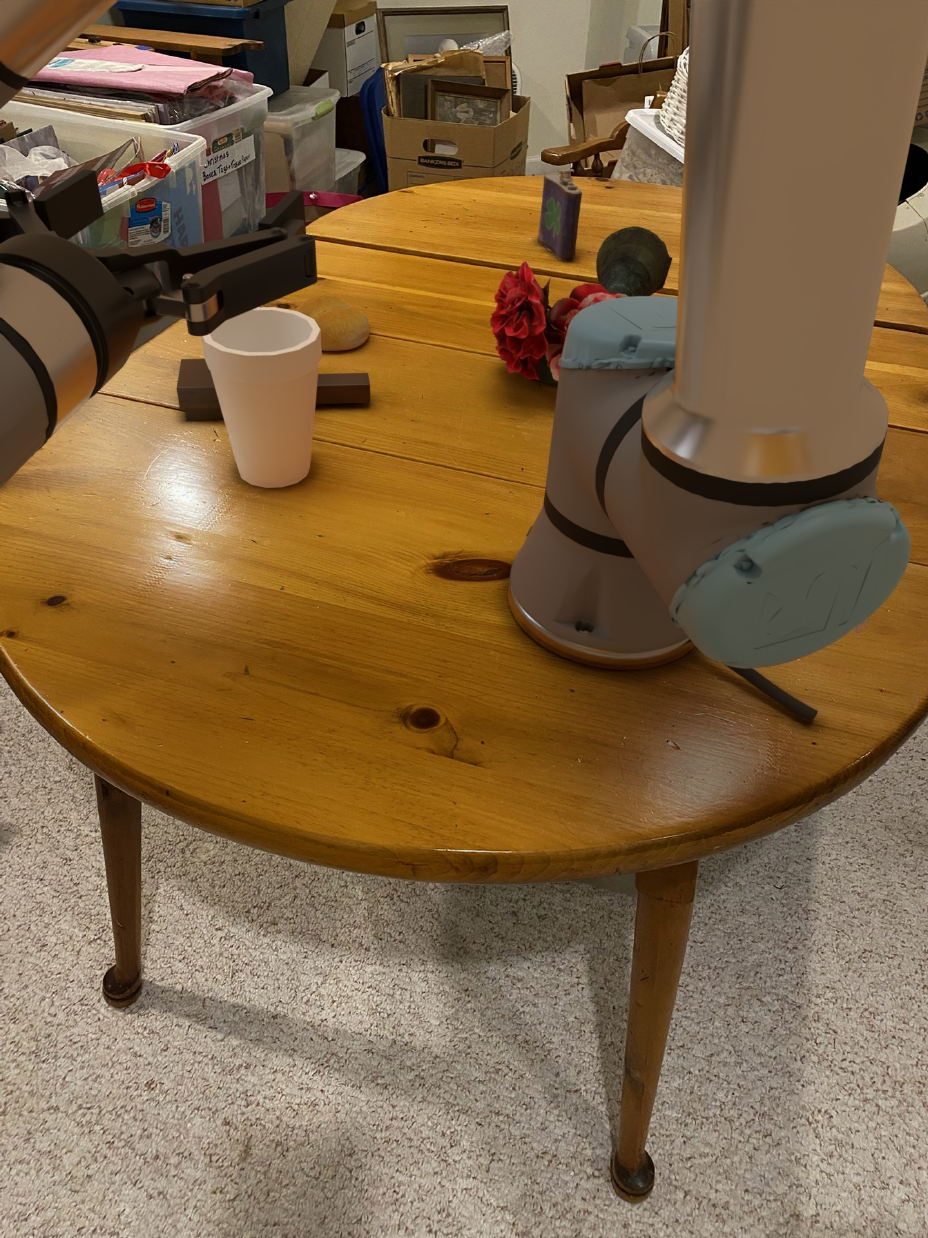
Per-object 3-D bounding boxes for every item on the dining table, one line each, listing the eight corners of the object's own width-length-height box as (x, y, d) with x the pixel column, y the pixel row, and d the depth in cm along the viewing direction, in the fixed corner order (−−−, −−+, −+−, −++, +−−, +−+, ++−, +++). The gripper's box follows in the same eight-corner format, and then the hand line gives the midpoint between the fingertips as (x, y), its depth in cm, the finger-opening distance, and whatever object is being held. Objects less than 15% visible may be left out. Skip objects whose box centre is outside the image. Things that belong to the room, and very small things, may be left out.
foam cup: (338, 488, 81) (332, 348, 73) (232, 505, 78) (213, 362, 70) (311, 435, 88) (302, 301, 79) (212, 450, 85) (193, 312, 76)
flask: (534, 239, 133) (542, 159, 126) (552, 238, 134) (562, 158, 127) (561, 262, 126) (571, 179, 119) (580, 261, 127) (592, 178, 120)
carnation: (605, 355, 122) (562, 476, 95) (512, 247, 117) (438, 342, 90) (703, 276, 114) (686, 384, 86) (607, 154, 108) (556, 228, 81)
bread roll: (325, 360, 100) (323, 324, 97) (280, 331, 105) (278, 296, 102) (386, 342, 104) (386, 307, 102) (340, 315, 109) (339, 281, 107)
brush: (367, 387, 96) (366, 355, 93) (372, 416, 91) (371, 383, 89) (186, 392, 93) (181, 358, 91) (181, 422, 88) (176, 387, 86)
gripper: (-189, 383, 46) (26, 242, 62) (291, 442, 44) (387, 281, 60) (-259, 229, 42) (-6, 119, 57) (277, 287, 39) (386, 156, 55)
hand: (195, 201), depth 59 cm, fingers open, 13 cm apart
